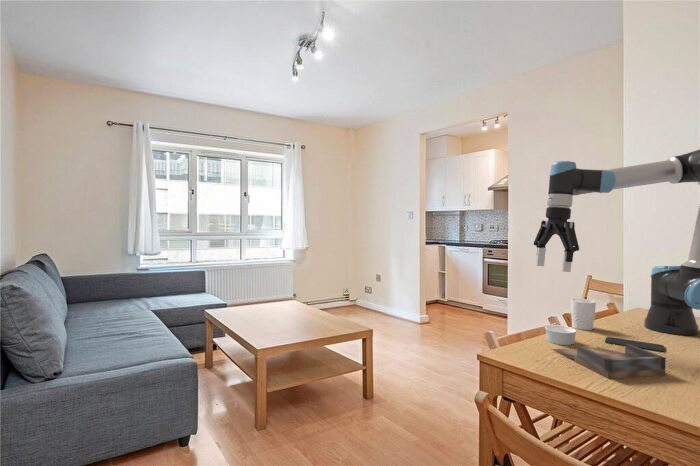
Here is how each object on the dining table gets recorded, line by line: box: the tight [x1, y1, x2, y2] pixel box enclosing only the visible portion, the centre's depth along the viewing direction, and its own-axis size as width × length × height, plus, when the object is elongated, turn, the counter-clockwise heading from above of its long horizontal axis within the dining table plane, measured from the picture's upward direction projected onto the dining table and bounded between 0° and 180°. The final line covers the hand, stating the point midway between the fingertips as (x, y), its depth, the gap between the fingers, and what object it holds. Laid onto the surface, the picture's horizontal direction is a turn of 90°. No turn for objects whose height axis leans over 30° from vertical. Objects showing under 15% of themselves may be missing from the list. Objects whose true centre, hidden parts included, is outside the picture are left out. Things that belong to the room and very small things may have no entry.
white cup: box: [570, 298, 597, 331], centre depth 142 cm, size 8×8×10 cm
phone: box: [604, 336, 665, 353], centre depth 123 cm, size 7×1×15 cm
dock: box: [550, 344, 667, 379], centre depth 109 cm, size 16×22×6 cm
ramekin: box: [544, 324, 577, 346], centre depth 126 cm, size 9×9×4 cm
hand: (552, 268), depth 134 cm, fingers open, 13 cm apart
